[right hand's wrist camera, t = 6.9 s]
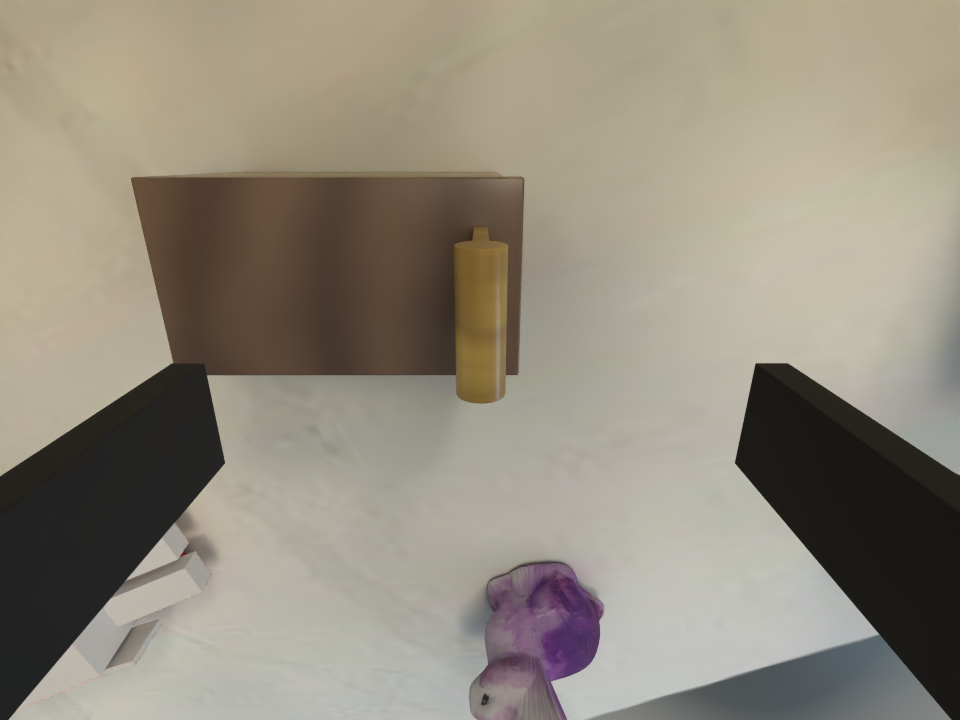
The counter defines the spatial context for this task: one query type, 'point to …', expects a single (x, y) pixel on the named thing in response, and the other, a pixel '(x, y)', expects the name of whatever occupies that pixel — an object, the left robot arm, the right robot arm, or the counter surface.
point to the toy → (128, 617)
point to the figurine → (534, 642)
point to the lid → (340, 275)
